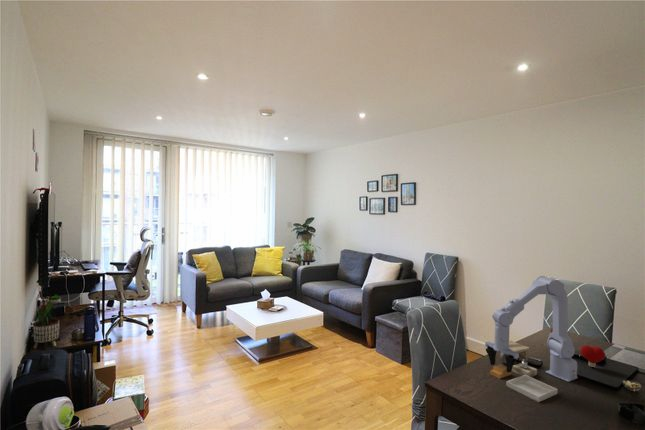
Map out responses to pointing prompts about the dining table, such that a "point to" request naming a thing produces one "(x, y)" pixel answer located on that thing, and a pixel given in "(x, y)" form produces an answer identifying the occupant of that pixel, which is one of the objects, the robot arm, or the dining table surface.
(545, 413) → the dining table surface
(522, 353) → the trolley
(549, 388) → the parts tray
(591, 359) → the red mushroom
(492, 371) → the tan stepped block
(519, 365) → the pin socket
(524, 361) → the pin
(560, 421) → the dining table surface
